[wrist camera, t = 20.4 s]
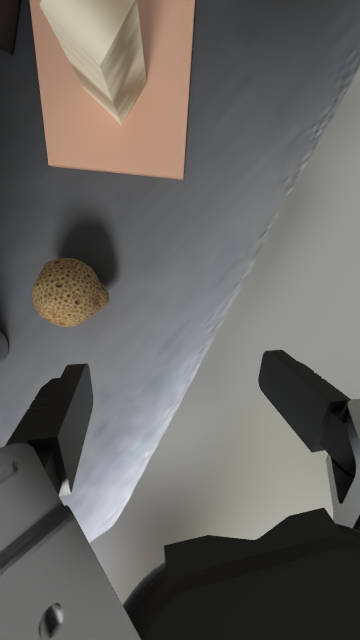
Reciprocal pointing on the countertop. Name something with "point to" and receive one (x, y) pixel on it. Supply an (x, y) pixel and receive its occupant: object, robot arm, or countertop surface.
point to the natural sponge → (68, 292)
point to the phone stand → (8, 24)
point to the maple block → (102, 48)
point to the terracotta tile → (145, 116)
